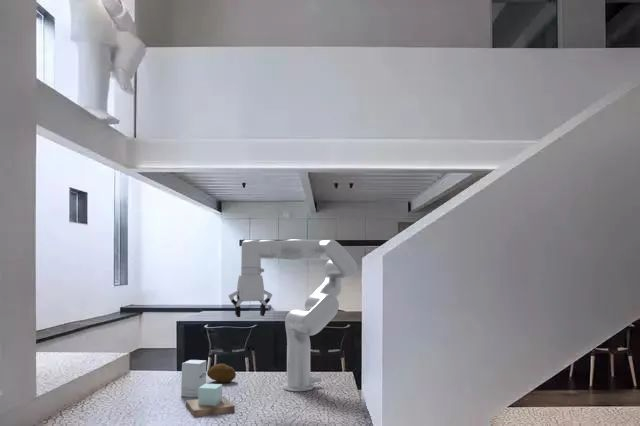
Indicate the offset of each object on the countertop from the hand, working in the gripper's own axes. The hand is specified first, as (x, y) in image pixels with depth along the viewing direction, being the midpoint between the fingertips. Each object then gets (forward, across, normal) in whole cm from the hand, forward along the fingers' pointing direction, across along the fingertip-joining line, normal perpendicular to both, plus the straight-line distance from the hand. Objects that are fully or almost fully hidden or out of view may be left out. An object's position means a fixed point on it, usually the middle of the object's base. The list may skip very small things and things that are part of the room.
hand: (250, 316), depth 213 cm
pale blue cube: (+28, +18, +11) cm, 35 cm away
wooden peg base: (+30, +18, +11) cm, 37 cm away
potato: (+31, +4, -27) cm, 41 cm away
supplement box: (+31, +19, -11) cm, 38 cm away
